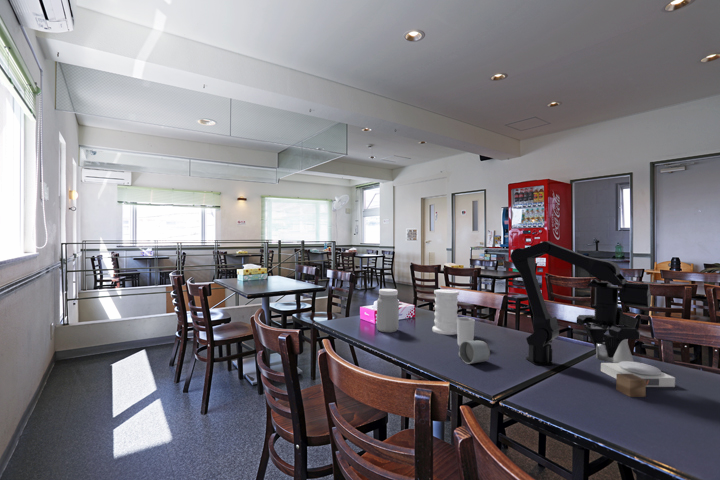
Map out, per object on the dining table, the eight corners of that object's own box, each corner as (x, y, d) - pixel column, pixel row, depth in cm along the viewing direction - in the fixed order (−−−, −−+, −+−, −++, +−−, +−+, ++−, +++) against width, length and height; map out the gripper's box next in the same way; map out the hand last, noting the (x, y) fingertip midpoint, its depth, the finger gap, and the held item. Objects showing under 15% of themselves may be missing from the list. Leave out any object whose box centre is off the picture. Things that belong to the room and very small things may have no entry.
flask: (640, 367, 117) (640, 337, 117) (615, 365, 119) (616, 335, 119) (628, 360, 125) (628, 331, 124) (605, 358, 126) (605, 330, 126)
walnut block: (629, 397, 95) (629, 380, 94) (616, 389, 99) (616, 373, 99) (645, 397, 95) (645, 380, 95) (631, 389, 99) (631, 373, 99)
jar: (402, 330, 158) (403, 290, 158) (389, 334, 151) (390, 292, 151) (385, 326, 165) (386, 287, 165) (371, 329, 158) (372, 289, 158)
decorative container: (438, 335, 152) (439, 293, 152) (428, 328, 163) (429, 289, 163) (463, 334, 154) (464, 292, 154) (451, 327, 165) (452, 289, 165)
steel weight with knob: (603, 361, 105) (603, 346, 104) (592, 356, 109) (593, 341, 109) (617, 361, 105) (617, 346, 105) (606, 356, 109) (606, 341, 109)
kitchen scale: (632, 387, 101) (632, 375, 101) (600, 370, 113) (601, 360, 113) (676, 387, 101) (676, 375, 101) (640, 371, 114) (640, 360, 114)
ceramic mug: (491, 363, 118) (492, 341, 118) (473, 367, 114) (474, 344, 114) (469, 355, 127) (470, 334, 127) (452, 357, 123) (452, 336, 123)
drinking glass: (477, 345, 138) (478, 320, 138) (466, 348, 134) (467, 322, 134) (464, 341, 143) (464, 316, 143) (452, 343, 139) (453, 318, 139)
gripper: (659, 309, 98) (658, 366, 98) (609, 298, 116) (607, 345, 116) (620, 309, 97) (619, 365, 97) (576, 297, 116) (574, 345, 116)
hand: (604, 354), depth 107 cm, fingers closed on steel weight with knob, 4 cm apart
